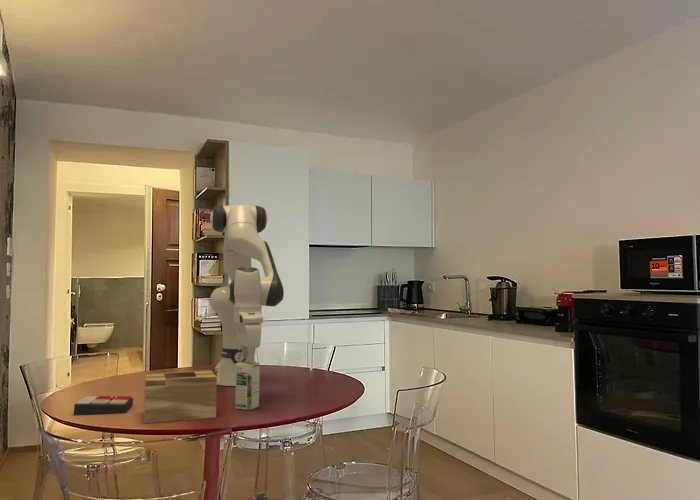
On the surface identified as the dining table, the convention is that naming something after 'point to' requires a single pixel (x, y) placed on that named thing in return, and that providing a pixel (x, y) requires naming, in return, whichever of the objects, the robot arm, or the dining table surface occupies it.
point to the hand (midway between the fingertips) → (248, 359)
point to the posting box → (179, 396)
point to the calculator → (103, 405)
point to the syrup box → (247, 385)
